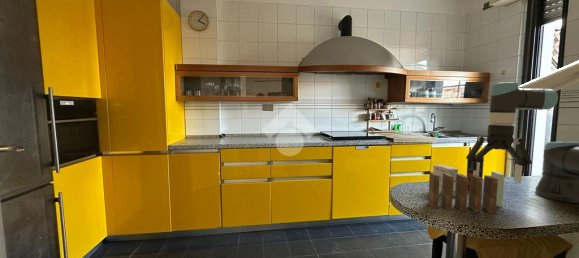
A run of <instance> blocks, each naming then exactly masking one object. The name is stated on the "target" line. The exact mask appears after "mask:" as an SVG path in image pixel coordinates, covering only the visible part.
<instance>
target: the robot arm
mask: <svg viewBox="0 0 579 258" xmlns="http://www.w3.org/2000/svg"><path fill="white" fill-rule="evenodd" d="M577 83H579V60H577V61H575V62H573V63H570V64H568V65H565V66H563V67H561V68H558V69H556V70H554V71H550V72H549V73H546V74H544V75H541V76H540V77H537V78H535V79H532V80H530V81H528V82H526V83H524V84H521V85H519V83H518V82H516V81H515V82H514V81H503V82H495V83H493V84H492V86H491V89H490V90H491V91H490V102H489V114H488V123H489V124H488V125H487V137H484V136H482V135H481V136H480V135H479V136H477V138H476V142H475V144H474V145H473V146H472V148H471V149H470V151H469V152H468V154H467V155H466V157H465V159H466V160H467V159H468V160H470V161H471V162H472V163H471V170H473V175H477V176H479V167H480V163H479V162H478V161H479V160H480V159H481V158H482V157H485V156H486V155H487V154H488V153H489V152H490V151H492V150H501V151H502V150H503V151H507V152H508V153H509V155H511V157H512V158H513V160H515V162H516V164H515V165H514V175H513V182H515V183H517V184H522V183H521V182H522V175H524V174H525V168H526V166H528V165H532V164H533V161H532V159H531V158H530V155H529V153H528V150H527V149H526V147H525V144H524V139H523V138H521V137H520V138H519V137H516V138H514V133H515V126H514V125H515V124H516V115H517V114H516V111H517V110H538V111H541V110H550V109H553V108H554V107H555V106H556V105H557V103H558V98H559V96H558V92H557V91H560V90H563V89H564V88H567V87H570V86H572V85H574V84H577ZM484 143H487V144H486V145H484ZM513 143H514V145H515V147H516V148H517V151H518V153H517V151H516V150H515V148H514V147H513V146H512V144H513ZM483 145H484V147H483V148H482V149H481V147H482V146H483ZM480 149H481V150H480ZM542 164H543V165H542V176H541V178H540V179H539V181H538V183H537V185H536V187H535V191H534V192H535V194H536V195H538V196H540V197H543V198H545V199H546V198H547V199H550V200H553V201H559V202H565V203H572V204H573V203H574V204H579V141H548V142H546V144H545V145H544V149H543V163H542Z"/></svg>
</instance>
